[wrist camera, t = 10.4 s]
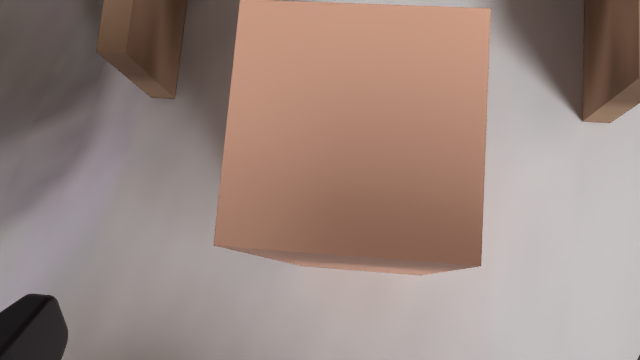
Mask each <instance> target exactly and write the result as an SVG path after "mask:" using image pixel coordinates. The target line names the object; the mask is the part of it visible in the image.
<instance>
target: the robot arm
mask: <svg viewBox="0 0 640 360" xmlns="http://www.w3.org/2000/svg"><path fill="white" fill-rule="evenodd" d="M67 340H68V329H67V325H66V323H65V320H64V317H63V315H62V312H61V309H60V306H59V304H58V301H57V299H56V298H55V297H53V296H51V295H42V294H28V295H26V296H24V297H22V298H21V299H19V300H18V301H16V302H15V303H13V304H12V305H10V306H9V307H8V308H6V309H5V310H3V311H2V312H0V360H61V359H62V356H63V353H64V350H65V348H66V345H67ZM637 360H640V355H639V357H638V359H637Z"/></svg>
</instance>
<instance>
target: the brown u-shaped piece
mask: <svg viewBox="0 0 640 360" xmlns="http://www.w3.org/2000/svg"><path fill="white" fill-rule="evenodd" d="M186 5H187V0H104V3H103V9H102V16H101V23H100V30H99V36H98V43H97V50H96V52H97V53H98V54H100V55H101V56H102V57H103V58H104V59H106V60H107V61H108V62H109V63H110V64H112V65H113V66H114V67H115V68H116V69H118V70H119V71H120V72H121V73H122V74H124V75H125V76H126V77H127V78H128V79H130V80H131V81H132V82H133V83H134V84H136V85H137V86H138V87H139V88H140V89H142V90H143V91H144V92H145V93H146V94H148V95H149V96H150V97H154V98H172V99H175V93H176V85H177V77H178V69H179V61H180V53H181V45H182V37H183V29H184V21H185V13H186ZM639 103H640V0H584V64H583V122H600V123H611V122H612V121H614V120H615V119H617V118H618V117H620V116H621V115H623V114H624V113H626V112H627V111H629V110H630V109H632V108H633V107H635V106H636V105H638V104H639Z"/></svg>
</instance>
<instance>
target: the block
mask: <svg viewBox="0 0 640 360" xmlns="http://www.w3.org/2000/svg"><path fill="white" fill-rule="evenodd" d="M490 17H491V9H490V8H463V7H436V6H409V5H382V4H355V3H328V2H301V1H274V0H240V4H239V13H238V23H237V32H236V41H235V50H234V60H233V69H232V78H231V87H230V97H229V106H228V115H227V124H226V134H225V143H224V152H223V162H222V171H221V180H220V189H219V199H218V208H217V217H216V226H215V236H214V246H219V247H223V248H227V249H231V250H236V251H240V252H244V253H249V254H253V255H257V256H262V257H266V258H270V259H274V260H279V261H283V262H287V263H292V264H296V265H300V266H310V267H323V268H335V269H348V270H360V271H373V272H385V273H398V274H410V275H426V274H433V273H439V272H446V271H452V270H459V269H465V268H472V267H478V266H481V254H482V227H483V201H484V175H485V149H486V122H487V96H488V70H489V44H490Z"/></svg>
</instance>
